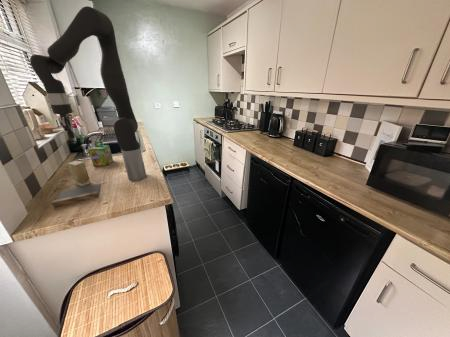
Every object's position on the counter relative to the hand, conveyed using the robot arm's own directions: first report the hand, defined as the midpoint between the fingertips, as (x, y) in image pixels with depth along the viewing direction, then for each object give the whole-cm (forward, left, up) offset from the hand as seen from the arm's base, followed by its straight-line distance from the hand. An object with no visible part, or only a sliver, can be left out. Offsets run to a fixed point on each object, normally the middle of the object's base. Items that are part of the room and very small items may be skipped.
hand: (72, 138), depth 95 cm
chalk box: (-8, -18, -23) cm, 30 cm away
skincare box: (0, +10, -23) cm, 25 cm away
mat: (0, +21, -22) cm, 31 cm away
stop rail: (0, +29, -22) cm, 36 cm away
